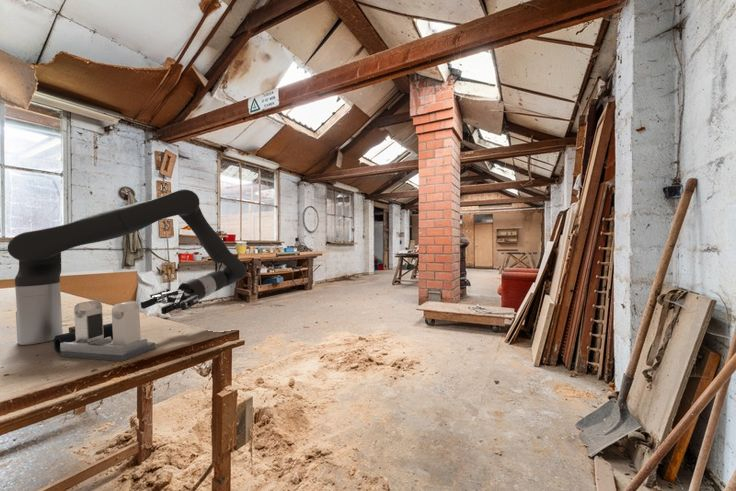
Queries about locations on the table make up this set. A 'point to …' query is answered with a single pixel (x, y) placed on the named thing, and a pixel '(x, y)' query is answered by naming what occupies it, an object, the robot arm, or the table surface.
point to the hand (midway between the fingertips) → (151, 308)
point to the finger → (126, 323)
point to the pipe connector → (72, 337)
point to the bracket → (98, 337)
